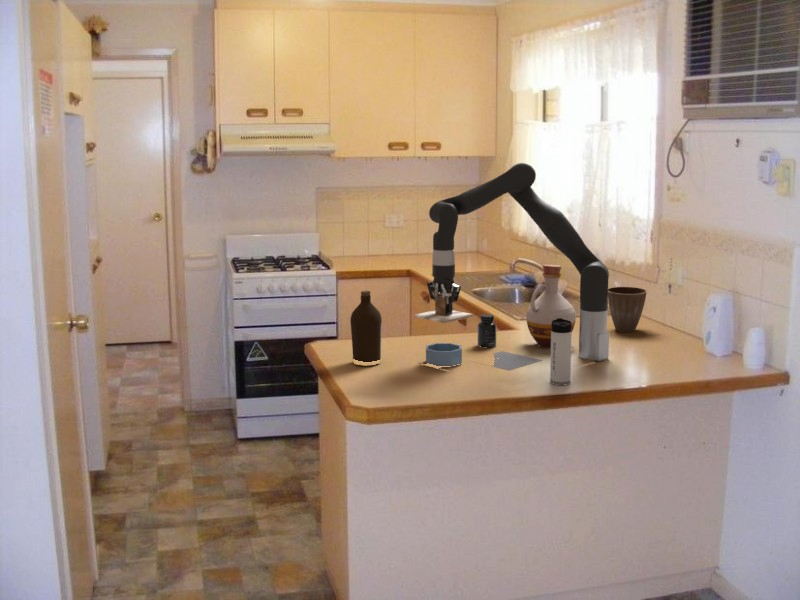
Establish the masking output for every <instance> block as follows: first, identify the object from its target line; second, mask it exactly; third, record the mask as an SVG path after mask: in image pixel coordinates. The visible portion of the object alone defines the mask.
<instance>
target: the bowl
mask: <svg viewBox="0 0 800 600" xmlns="http://www.w3.org/2000/svg"><path fill="white" fill-rule="evenodd" d="M462 357H463V348H462V345H461V344H457V343H452V342H435V343H432V344H427V345H425V364H426V363H429V364H433V365H436V366H453V365H457V364H461V363H462V364H463V359H462Z"/></svg>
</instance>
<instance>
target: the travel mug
mask: <svg viewBox="0 0 800 600" xmlns="http://www.w3.org/2000/svg"><path fill="white" fill-rule="evenodd" d="M551 327H552V329H551V332H552V333H551V348H550V362H549V363H550V365H549V366H550V370H549V371H550V374H549V383H551V384H552V383H554V384H553V385H555V384H560V385H559V386H565V385H564V384H567V385H569V384H571V370H572V368H571V365H572V335H573V334H572V333H573V331H571V328H572V323H571V321H569V320H564V319H562V318H557V319H556V320H553V321H552V325H551Z"/></svg>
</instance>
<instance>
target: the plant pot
mask: <svg viewBox="0 0 800 600" xmlns="http://www.w3.org/2000/svg"><path fill="white" fill-rule="evenodd" d="M647 293H648V291H647V290H646V289H644V288H642V287H633V286H632V287H631V286H615V287H610V288H609V287H608V309H609V310H610V311H609V312H610V316H611V319H612V322H613V323H612V324H613V326H614V329H615V331H616V330H617V332H619V331H620V333H633V332H632V331H634V332H635V331H636V329H637V327H638V325H639V322H640V320H641V317H642V314H643V310H644V306H645V303H646V297H647Z"/></svg>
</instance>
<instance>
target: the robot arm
mask: <svg viewBox="0 0 800 600" xmlns="http://www.w3.org/2000/svg"><path fill="white" fill-rule="evenodd" d="M536 177H537V174H536V170H535V169H534V167H533V166H532V165H531V164H529V163H526V162H519V163H518V162H517V163H515V164H514V165H512V166H511V167H510V168H509V169H508V170H507V171H505V172H503V173H502V174H500V175H498V176H497V177H494V178H493V179H491V180H489V181H487V182H484V183H482V184H480V185H478V186H475V187H472V188H470V189H469V190H465V191H464V192H462V193H460V194H458V195H455V196H452V197H448V198H445V199H441V200H438V201H437V202H435V203H434V204H432V205H431V207H430V209H429V212H428V214H429V215H428V216H429V218H430V219H431V221H433V222H434V223H436V224H438V229H437V231H436V232H434V233H433V236H432V256H431V257H432V262H431V263H432V264H431V265H432V266H431V267H432V274H431V275H432V277H433V280H431V281H428V282H426V287H427V289H428V294H429V297H430V300H433V301H434V302H435V297H438V296H442V295H444V297H445V298H446V315H450V314H452V310H453V305H454V303H457V302H458V300H459V296H460V293H461V289H462V286H461V285H460V284H459V285H457V284H455V281H454V280H455V279H454V278H455V276H456V253H455V236H456V232H457V231H456V230H457V227H458V222H459V216H461V215H463V216H464V215H465V216H466V215H469V214H470V213H473V212H475V211H477V210H479V209H481V208H483V207H485V206H487V205H489V204H490V203H492V202H493V201H494V200H497V199H498V198H500V197H501V196H504V195H505V194H509V196H510V197H512V199H514V201H515V202H516V203H518V205H519V206H521V208H522V209H523V210H524V211H525V212H526V213H527V214H528V216H529V217H530V218H531V219H532V221H533V222H534V223H535V224H536V225H537V227H538V228H539V229H540V231H541V232H542V234H544V236H545V238H547V240H548V241H549V242H550V243H551V245H553V246H554V247H555V248H556V249H557V250H558V251H559V252H560V253H562V254H563V255H564V256H565V257H566V258H568V259H569V261H570V262H571V263H572V265H573V266H574V267H575V269H576V271H578V273H579V275H580V277H579V278H580V281H579V283H580V285H579V332H578V333H579V335H578V336H579V337H578V357H579V358H580V359H582V360H590V361H595V362H601V361H605V360H608V359H609V355H610V354H609V352H610V351H609V349H610V331H608V309H609V301H608V289H609V277H610V273H609V269H608V268H607V266H606V265H605V264H604V263H603V261H602V260H600V259H599V258H598V257H597V256H596V255H595V254H594V253H593V252H592V251H591V250H590V249H589V248H588V246H587V245H586V244H585V242H584V241H583V239H582V237H581V236H580V234H579V233H578V231H577V230H576V229H575V228H574V226H573V225H572V223H571V222H570V221H569V219H568V218H567V217H566V216H565V215H564V214H563V212H562V211H560V210H559V209H558V208H557V207H555V206H553V205H552V204H550V203H548V202H546V201H545V200H543V199H542V198H541V197H540V196H539V195H538V194H537V193H536V192H535V190H534V189H533V188H532V186H533V185H534V183H535V181H536ZM449 297H450V300H449Z"/></svg>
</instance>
